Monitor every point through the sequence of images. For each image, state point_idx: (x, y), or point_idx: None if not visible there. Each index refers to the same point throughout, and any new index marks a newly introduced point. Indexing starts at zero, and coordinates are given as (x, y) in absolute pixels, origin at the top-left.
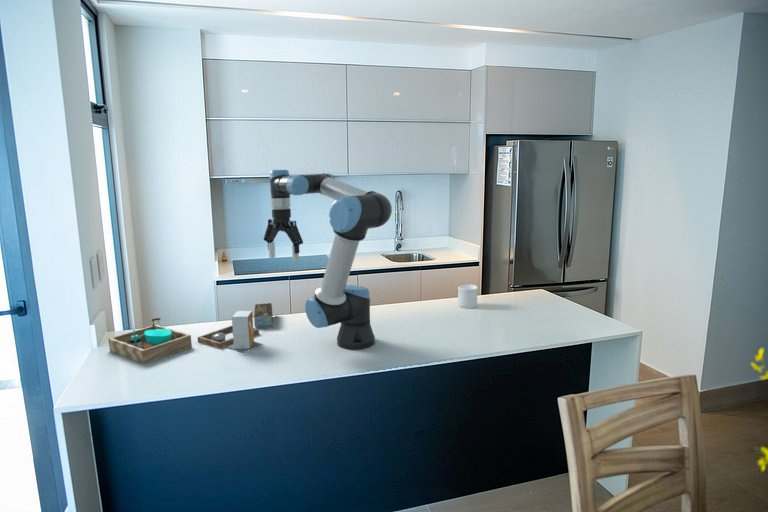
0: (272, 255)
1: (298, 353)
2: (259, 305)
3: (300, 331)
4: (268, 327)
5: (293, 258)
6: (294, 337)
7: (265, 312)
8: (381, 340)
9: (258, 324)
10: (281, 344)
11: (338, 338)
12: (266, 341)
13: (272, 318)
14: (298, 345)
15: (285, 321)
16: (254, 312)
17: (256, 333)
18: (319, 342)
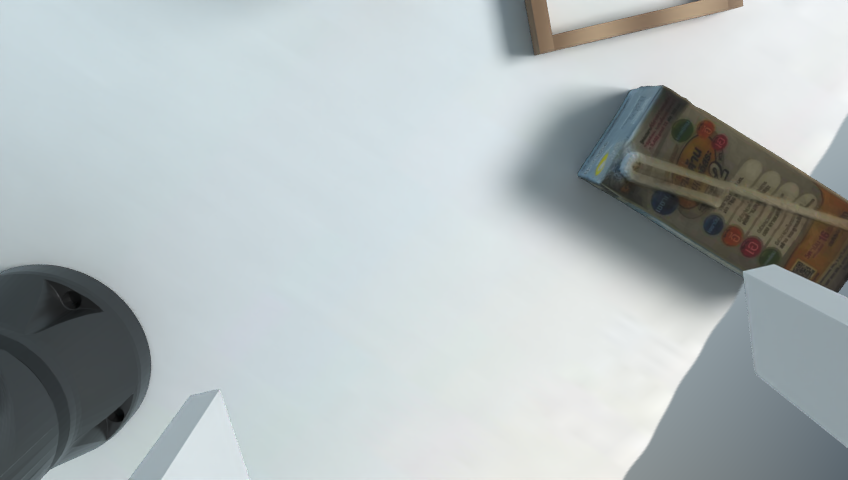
0: (773, 332)
1: (105, 52)
2: (832, 227)
3: (401, 252)
4: (589, 155)
5: (184, 421)
6: (339, 174)
7: (665, 175)
8: None
9: (629, 105)
10: (290, 59)
11: (60, 287)
12: (392, 21)
13: (683, 240)
14: (213, 120)
15: (611, 285)
16: (753, 141)
17: (533, 35)
18: (179, 228)
